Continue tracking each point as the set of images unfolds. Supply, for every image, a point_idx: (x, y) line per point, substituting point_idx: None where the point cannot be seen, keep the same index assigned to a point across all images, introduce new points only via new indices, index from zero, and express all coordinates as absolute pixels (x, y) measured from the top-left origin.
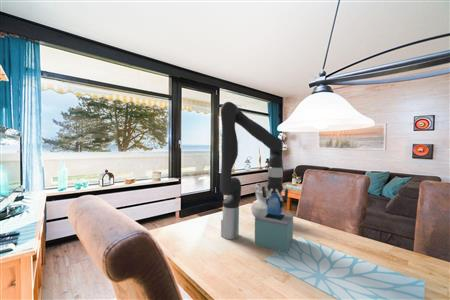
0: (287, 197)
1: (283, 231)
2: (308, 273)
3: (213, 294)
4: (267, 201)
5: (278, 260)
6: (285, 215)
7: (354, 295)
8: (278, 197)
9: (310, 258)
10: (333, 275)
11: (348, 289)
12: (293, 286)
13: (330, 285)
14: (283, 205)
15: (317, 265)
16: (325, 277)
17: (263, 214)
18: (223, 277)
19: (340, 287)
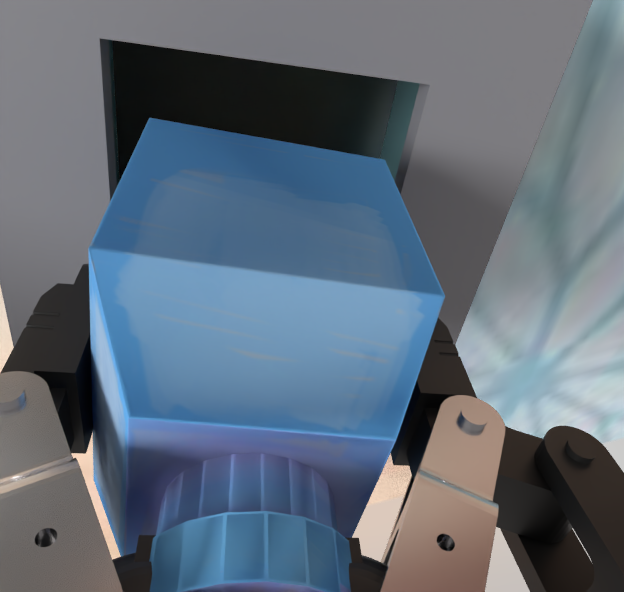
0: (622, 487)
1: None
2: (476, 384)
3: None
4: (96, 482)
5: None
6: (437, 113)
7: (620, 438)
8: (358, 522)
9: (533, 250)
10: (601, 359)
11: (617, 418)
12: (392, 468)
13: (551, 421)
14: (444, 342)
15: (551, 307)
16: (552, 384)
17: (60, 205)
18: (102, 512)
19: (589, 418)
